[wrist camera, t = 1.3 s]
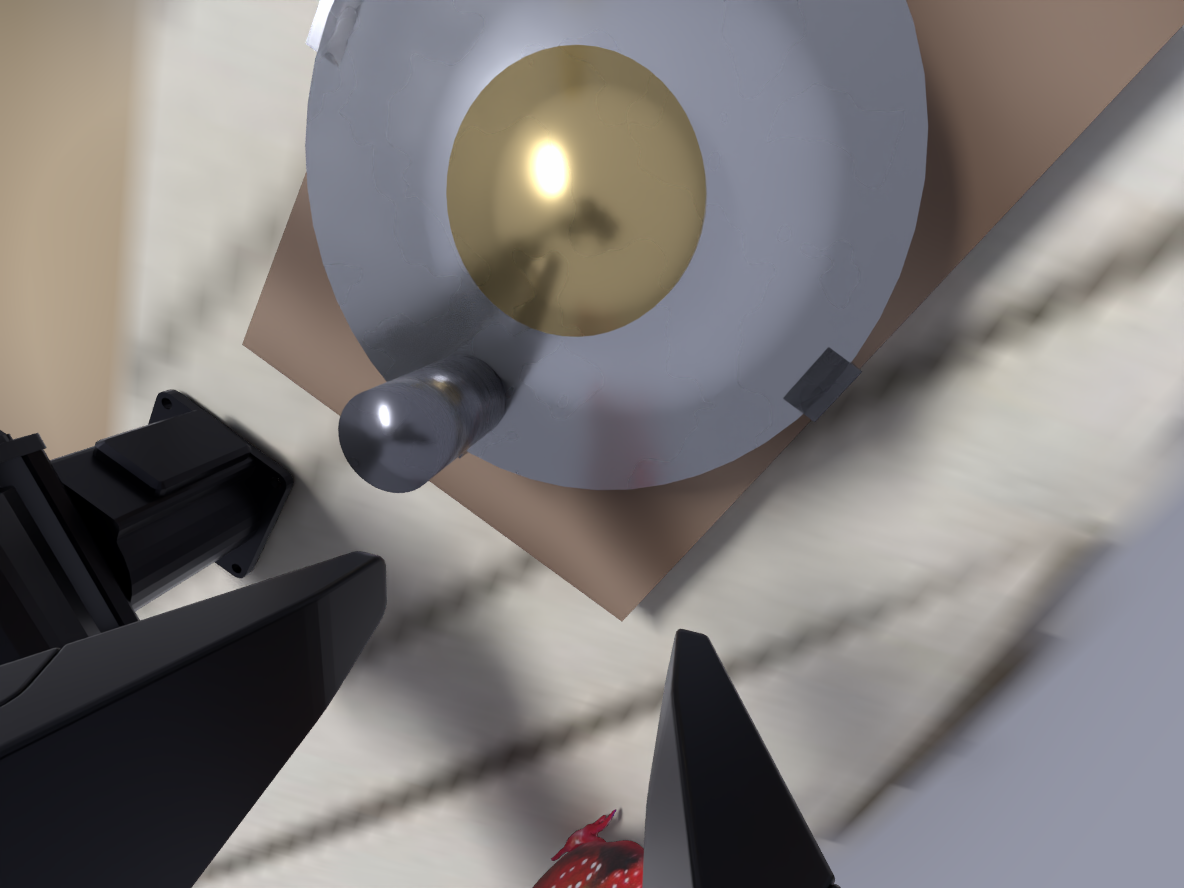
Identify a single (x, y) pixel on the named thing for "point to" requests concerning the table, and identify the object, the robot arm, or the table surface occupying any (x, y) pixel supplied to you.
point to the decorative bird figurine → (595, 861)
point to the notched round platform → (607, 223)
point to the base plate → (940, 242)
